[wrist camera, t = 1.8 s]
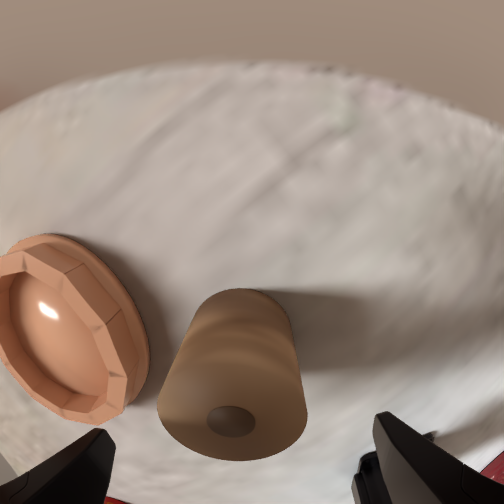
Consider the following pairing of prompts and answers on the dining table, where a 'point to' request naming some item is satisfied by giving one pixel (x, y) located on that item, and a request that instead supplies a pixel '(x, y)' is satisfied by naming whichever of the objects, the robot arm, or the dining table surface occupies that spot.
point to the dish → (70, 330)
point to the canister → (495, 469)
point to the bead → (235, 380)
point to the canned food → (112, 501)
